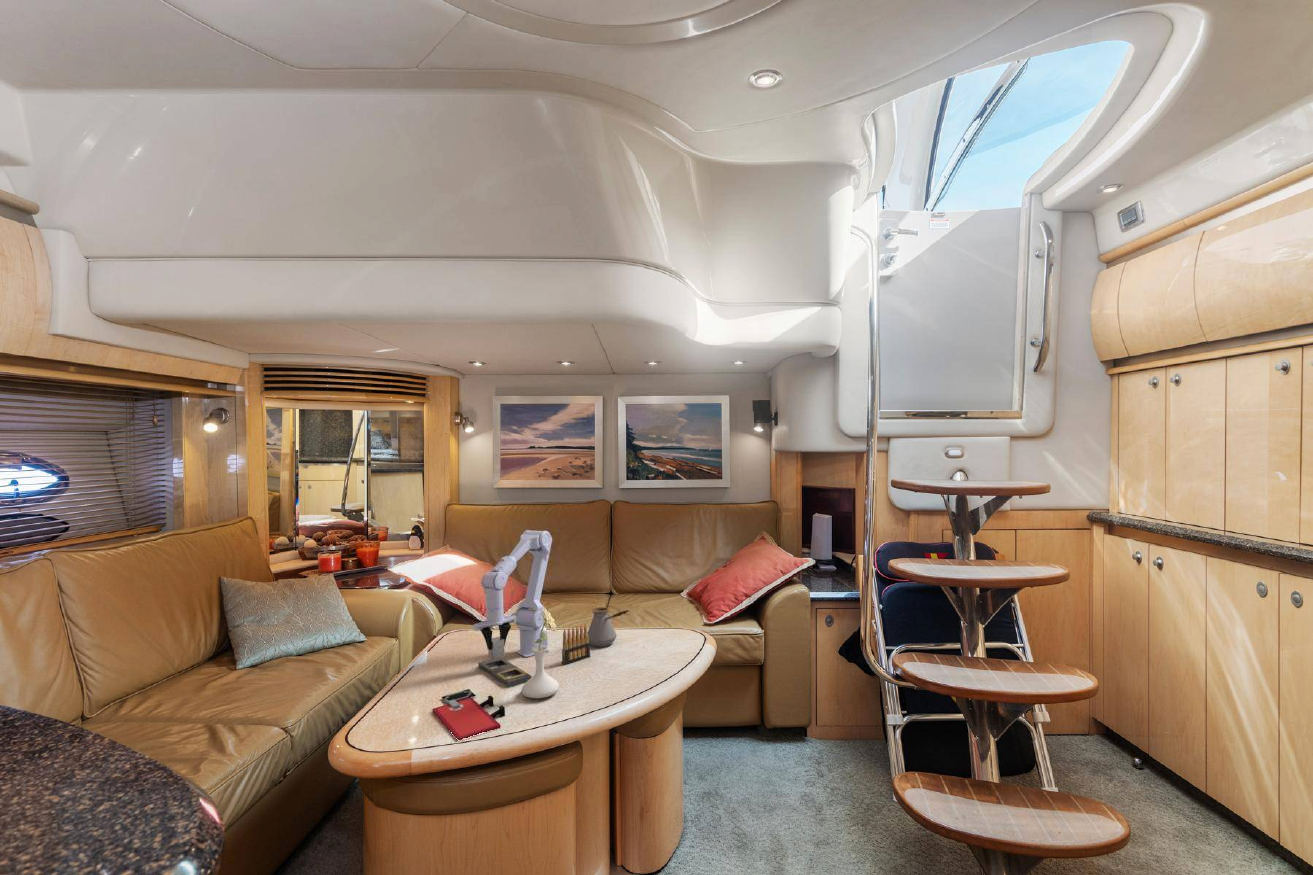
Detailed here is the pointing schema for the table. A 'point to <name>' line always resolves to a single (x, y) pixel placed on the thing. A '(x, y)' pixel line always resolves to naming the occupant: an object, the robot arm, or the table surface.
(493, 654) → the grey rectangular block
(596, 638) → the coffee pot
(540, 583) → the robot arm
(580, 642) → the ammunition clip
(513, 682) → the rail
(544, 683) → the flower in vase
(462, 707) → the red board with handle
